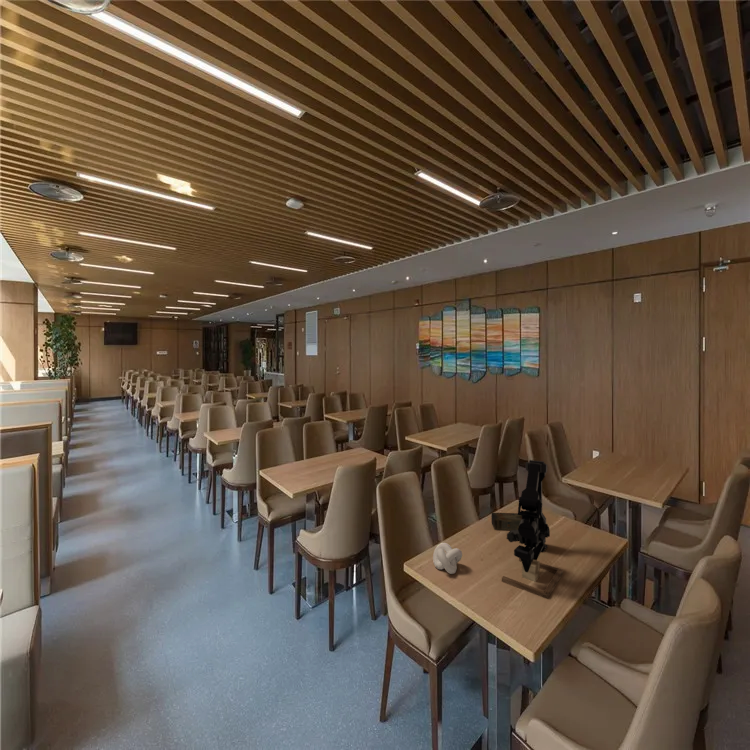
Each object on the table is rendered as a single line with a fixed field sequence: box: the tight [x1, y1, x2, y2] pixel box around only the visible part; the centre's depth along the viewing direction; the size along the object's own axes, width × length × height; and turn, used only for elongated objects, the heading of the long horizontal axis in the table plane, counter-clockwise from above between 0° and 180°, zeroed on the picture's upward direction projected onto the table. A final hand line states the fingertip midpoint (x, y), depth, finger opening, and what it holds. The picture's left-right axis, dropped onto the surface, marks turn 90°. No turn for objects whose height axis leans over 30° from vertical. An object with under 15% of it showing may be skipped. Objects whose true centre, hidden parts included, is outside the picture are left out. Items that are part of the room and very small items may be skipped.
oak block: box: [521, 559, 540, 583], centre depth 143 cm, size 5×5×6 cm
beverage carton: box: [490, 512, 522, 531], centre depth 186 cm, size 8×19×7 cm, turn 85°
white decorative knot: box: [432, 542, 463, 575], centre depth 151 cm, size 11×12×9 cm
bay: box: [501, 558, 564, 600], centre depth 143 cm, size 20×16×2 cm
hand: (530, 566), depth 143 cm, fingers open, 9 cm apart
